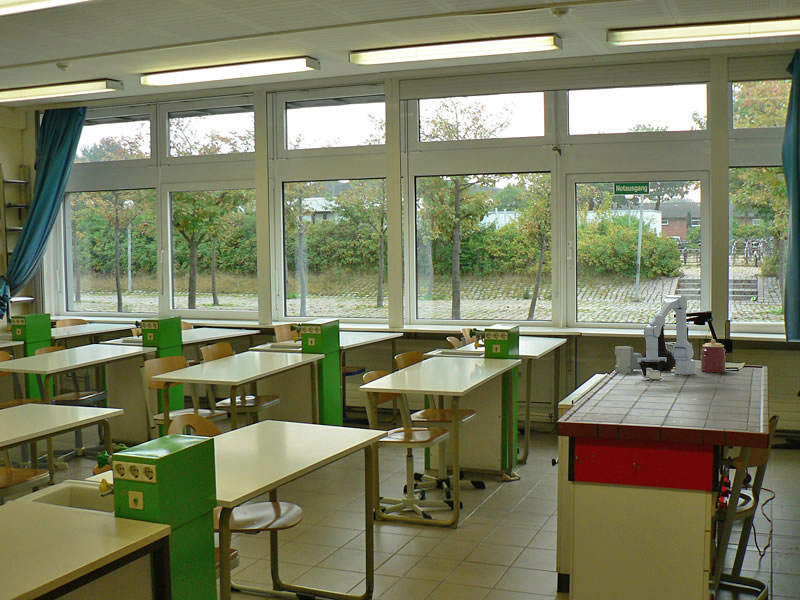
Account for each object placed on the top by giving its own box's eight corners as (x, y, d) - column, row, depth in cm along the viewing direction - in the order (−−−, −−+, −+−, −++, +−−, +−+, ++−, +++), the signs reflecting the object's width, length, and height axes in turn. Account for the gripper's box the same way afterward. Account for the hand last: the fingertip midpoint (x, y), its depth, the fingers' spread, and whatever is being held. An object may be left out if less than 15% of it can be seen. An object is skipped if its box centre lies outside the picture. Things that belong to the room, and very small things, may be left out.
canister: (701, 372, 445) (701, 340, 444) (699, 369, 457) (699, 338, 457) (726, 373, 441) (726, 340, 440) (724, 369, 454) (724, 338, 453)
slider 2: (657, 377, 416) (657, 370, 416) (660, 379, 412) (660, 371, 412) (649, 378, 415) (649, 370, 415) (652, 379, 411) (652, 371, 411)
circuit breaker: (644, 375, 437) (644, 347, 437) (618, 375, 438) (618, 347, 437) (641, 373, 445) (640, 346, 444) (614, 373, 445) (614, 346, 445)
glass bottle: (635, 371, 453) (634, 321, 452) (659, 369, 461) (659, 319, 460) (657, 375, 437) (657, 323, 436) (682, 372, 445) (682, 321, 444)
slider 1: (649, 375, 425) (649, 367, 425) (652, 376, 421) (652, 368, 421) (642, 375, 424) (642, 368, 424) (645, 376, 420) (645, 369, 420)
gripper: (641, 350, 408) (641, 377, 409) (669, 349, 410) (669, 376, 410) (635, 349, 415) (636, 375, 416) (663, 348, 417) (663, 374, 417)
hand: (652, 375), depth 413 cm, fingers open, 7 cm apart
